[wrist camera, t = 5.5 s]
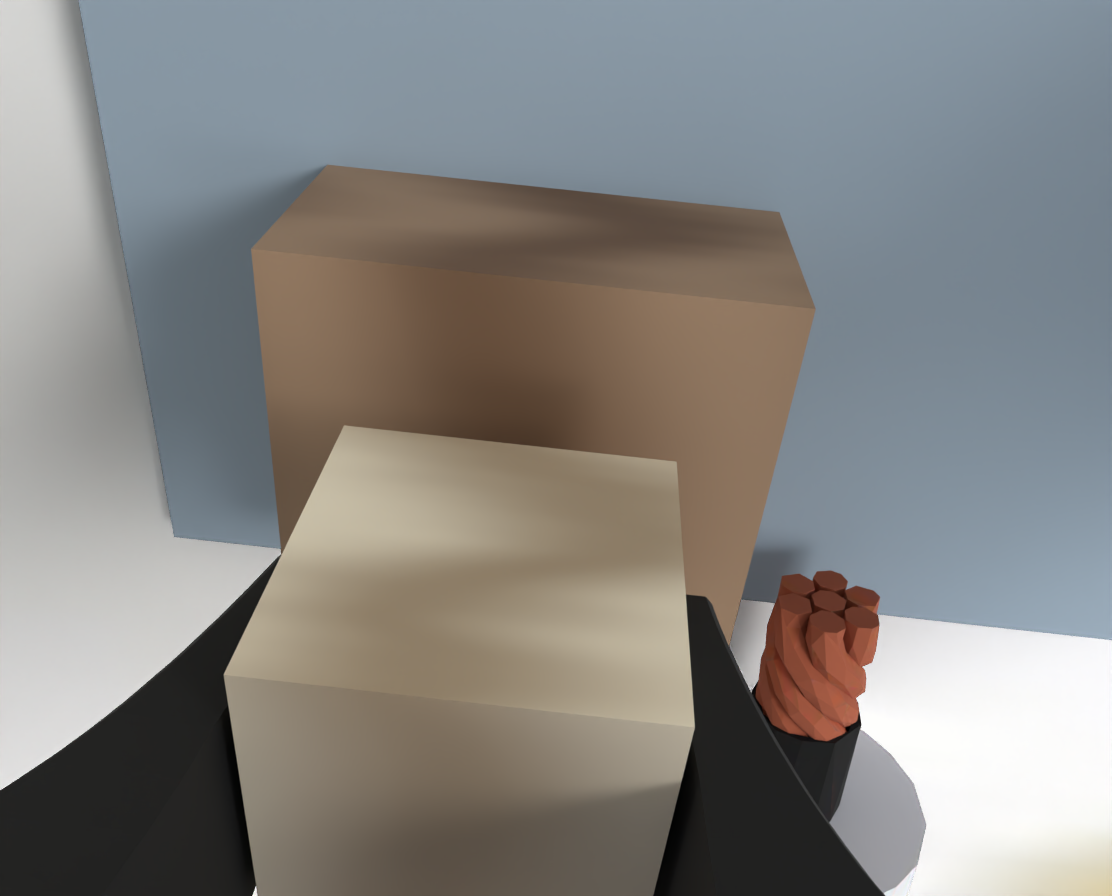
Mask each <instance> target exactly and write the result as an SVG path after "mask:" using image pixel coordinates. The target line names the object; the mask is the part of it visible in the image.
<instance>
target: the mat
mask: <svg viewBox="0 0 1112 896" xmlns="http://www.w3.org/2000/svg"><path fill="white" fill-rule="evenodd" d="M78 1H79V6H80V12H81V18H82V23H83V29H84V34H85V40H86V46H87V51H88V57H89V62H90V68H91V74H92V79H93V85H94V90H95V96H96V102H97V107H98V113H99V118H100V124H101V130H102V135H103V141H104V146H105V152H106V158H107V163H108V169H109V175H110V180H111V186H112V191H113V197H114V203H115V208H116V214H117V219H118V225H119V231H120V236H121V242H122V247H123V253H124V259H125V264H126V270H127V275H128V281H129V287H130V292H131V298H132V303H133V309H134V315H135V320H136V326H137V331H138V337H139V343H140V348H141V354H142V360H143V365H144V371H145V376H146V382H147V388H148V393H149V399H150V404H151V410H152V416H153V421H154V427H155V432H156V438H157V444H158V449H159V455H160V460H161V466H162V472H163V477H164V483H165V488H166V494H167V500H168V505H169V511H170V516H171V522H172V528H173V533H174V537H180V538H189V539H198V540H207V541H216V542H225V543H234V544H243V545H253V546H262V547H271V548H280V549H281V545H280V535H279V525H278V515H277V505H276V495H275V485H274V475H273V465H272V455H271V444H270V434H269V424H268V414H267V404H266V394H265V384H264V374H263V364H262V354H261V344H260V334H259V324H258V314H257V304H256V294H255V284H254V273H253V263H252V253H251V248H252V247H253V246H254V245H255V244H256V243H257V242H258V241H259V240H260V239H261V237H262V236H263V235H264V234H265V233H266V232H267V231H268V230H269V229H270V228H271V226H272V225H273V224H274V223H275V222H276V221H277V220H278V219H279V218H280V217H281V215H282V214H283V213H284V212H285V211H286V210H287V209H288V208H289V207H290V206H291V204H292V203H293V202H294V201H295V200H296V199H297V198H298V197H299V196H300V194H301V193H302V192H303V191H304V190H305V189H306V188H307V187H308V186H309V185H310V183H311V182H312V181H313V180H314V179H315V178H316V177H317V176H318V175H319V174H320V172H321V171H322V170H323V169H324V168H325V167H326V166H327V165H336V166H345V167H355V168H364V169H374V170H383V171H393V172H402V173H412V174H421V175H431V176H440V177H450V178H459V179H469V180H478V181H488V182H497V183H507V184H516V185H526V186H535V187H545V188H554V189H564V190H573V191H583V192H592V193H602V194H611V195H621V196H630V197H640V198H649V199H659V200H668V201H678V202H687V203H697V204H707V205H716V206H726V207H735V208H745V209H754V210H764V211H773V212H780V215H781V218H782V220H783V223H784V226H785V228H786V231H787V234H788V236H789V239H790V242H791V244H792V247H793V250H794V252H795V255H796V258H797V260H798V263H799V266H800V268H801V271H802V274H803V276H804V279H805V282H806V284H807V287H808V290H809V292H810V295H811V298H812V300H813V303H814V306H815V308H816V310H815V314H814V318H813V322H812V326H811V330H810V333H809V337H808V341H807V345H806V349H805V353H804V357H803V361H802V365H801V368H800V372H799V376H798V380H797V384H796V388H795V392H794V396H793V399H792V403H791V407H790V411H789V415H788V419H787V423H786V427H785V431H784V434H783V438H782V442H781V446H780V450H779V454H778V458H777V462H776V465H775V469H774V473H773V477H772V481H771V485H770V489H769V493H768V497H767V500H766V504H765V508H764V512H763V516H762V520H761V524H760V528H759V531H758V535H757V539H756V543H755V547H754V551H753V555H752V559H751V563H750V566H749V570H748V574H747V578H746V582H745V586H744V590H743V594H742V597H741V599H743V600H753V601H762V602H771V603H775V602H776V599H777V596H778V592H779V587H780V583H781V578H782V576H784V575H792V574H801V575H803V576H805V577H807V578H808V579H810V580H812V581H813V577H814V575H815V574H816V572H817V571H829V570H831V571H834V572H837V573H840V574H842V575H843V577H844V578H845V579H846V580H847V581H848V583H847V588H846V590H847V589H849V588H852V587H854V586H860V587H863V588H866V589H870V590H873V591H874V592H876V593H877V594H878V595H879V596H880V601H879V606H878V610H877V614H880V615H889V616H898V617H907V618H916V619H925V620H934V621H943V622H953V623H962V624H971V625H980V626H989V627H998V628H1007V629H1016V630H1025V631H1034V632H1043V633H1053V634H1062V635H1071V636H1080V637H1089V638H1098V639H1107V640H1112V0H78Z"/></svg>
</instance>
